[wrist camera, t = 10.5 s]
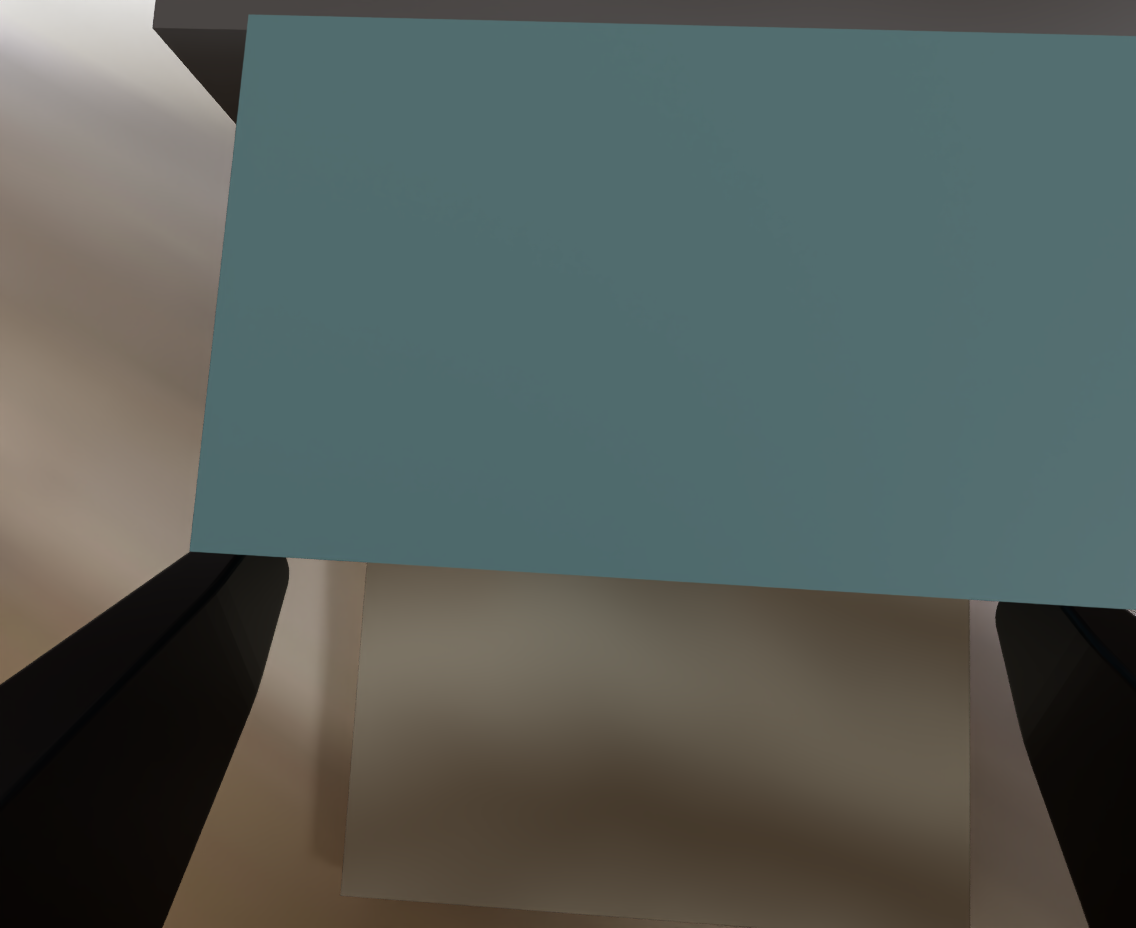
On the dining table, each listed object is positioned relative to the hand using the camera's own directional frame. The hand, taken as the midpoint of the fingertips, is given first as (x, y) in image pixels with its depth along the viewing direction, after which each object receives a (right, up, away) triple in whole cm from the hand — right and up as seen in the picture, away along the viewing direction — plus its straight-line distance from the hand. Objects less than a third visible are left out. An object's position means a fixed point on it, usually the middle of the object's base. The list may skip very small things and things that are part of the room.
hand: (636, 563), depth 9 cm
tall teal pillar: (0, +1, +9) cm, 9 cm away
